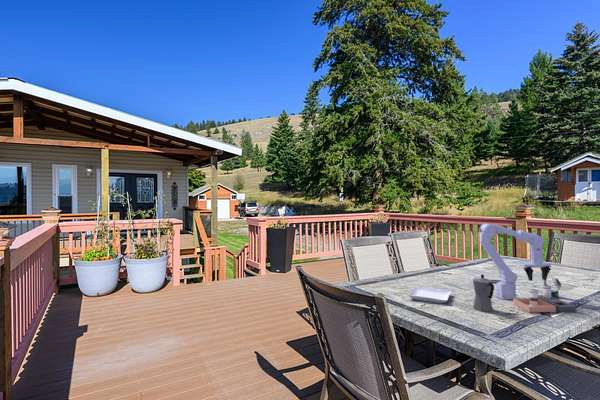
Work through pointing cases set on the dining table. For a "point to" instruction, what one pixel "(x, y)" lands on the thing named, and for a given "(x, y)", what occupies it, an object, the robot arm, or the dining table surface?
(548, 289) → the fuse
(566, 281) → the dining table surface
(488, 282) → the coffeepot
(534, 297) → the cylinder
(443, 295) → the salad plate
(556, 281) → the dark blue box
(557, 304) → the fuse holder
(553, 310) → the parts tray
